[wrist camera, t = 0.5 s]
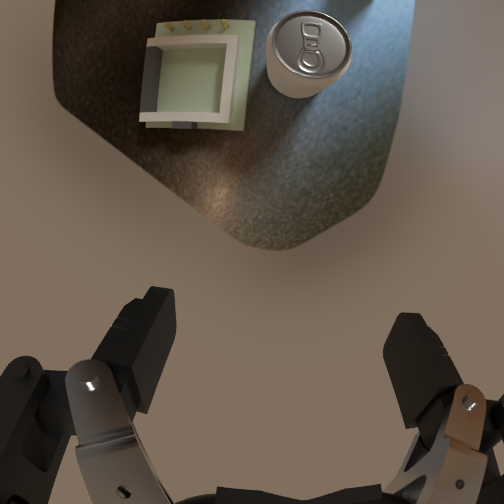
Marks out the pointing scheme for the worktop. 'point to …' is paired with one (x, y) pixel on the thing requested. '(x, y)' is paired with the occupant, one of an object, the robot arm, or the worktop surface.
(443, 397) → the robot arm
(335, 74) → the can
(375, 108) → the worktop surface
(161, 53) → the socket board
